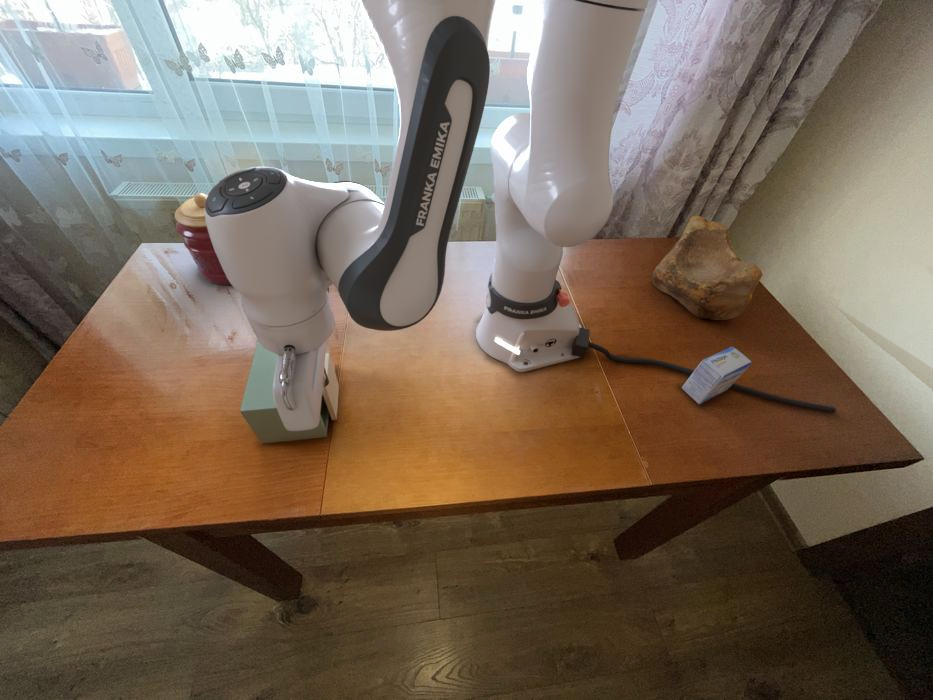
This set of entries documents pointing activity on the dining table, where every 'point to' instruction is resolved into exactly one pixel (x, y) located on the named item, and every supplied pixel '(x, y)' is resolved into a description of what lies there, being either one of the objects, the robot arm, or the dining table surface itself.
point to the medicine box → (716, 374)
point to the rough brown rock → (707, 272)
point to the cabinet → (272, 403)
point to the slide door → (331, 388)
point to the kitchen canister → (199, 239)
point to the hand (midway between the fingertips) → (319, 387)
